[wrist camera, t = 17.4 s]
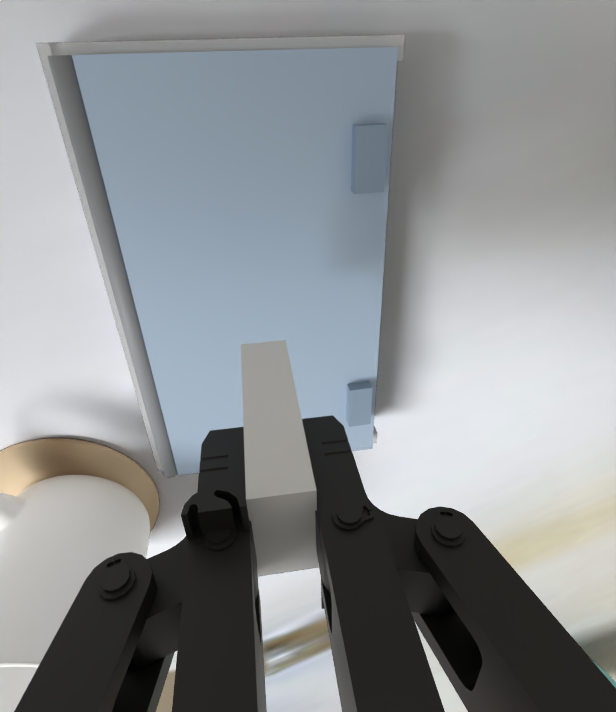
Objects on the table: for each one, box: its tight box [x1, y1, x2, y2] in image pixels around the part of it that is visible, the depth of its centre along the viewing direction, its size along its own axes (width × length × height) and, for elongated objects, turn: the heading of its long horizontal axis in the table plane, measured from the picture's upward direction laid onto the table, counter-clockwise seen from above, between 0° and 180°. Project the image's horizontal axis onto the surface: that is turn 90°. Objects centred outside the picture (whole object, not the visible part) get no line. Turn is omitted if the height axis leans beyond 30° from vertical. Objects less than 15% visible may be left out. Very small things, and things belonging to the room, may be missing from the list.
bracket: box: [36, 35, 405, 471], centre depth 22 cm, size 13×20×2 cm, turn 2°
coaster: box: [0, 438, 159, 532], centre depth 29 cm, size 11×11×1 cm
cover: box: [47, 47, 398, 477], centre depth 20 cm, size 12×19×2 cm, turn 2°
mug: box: [0, 475, 150, 712], centre depth 24 cm, size 9×12×11 cm
